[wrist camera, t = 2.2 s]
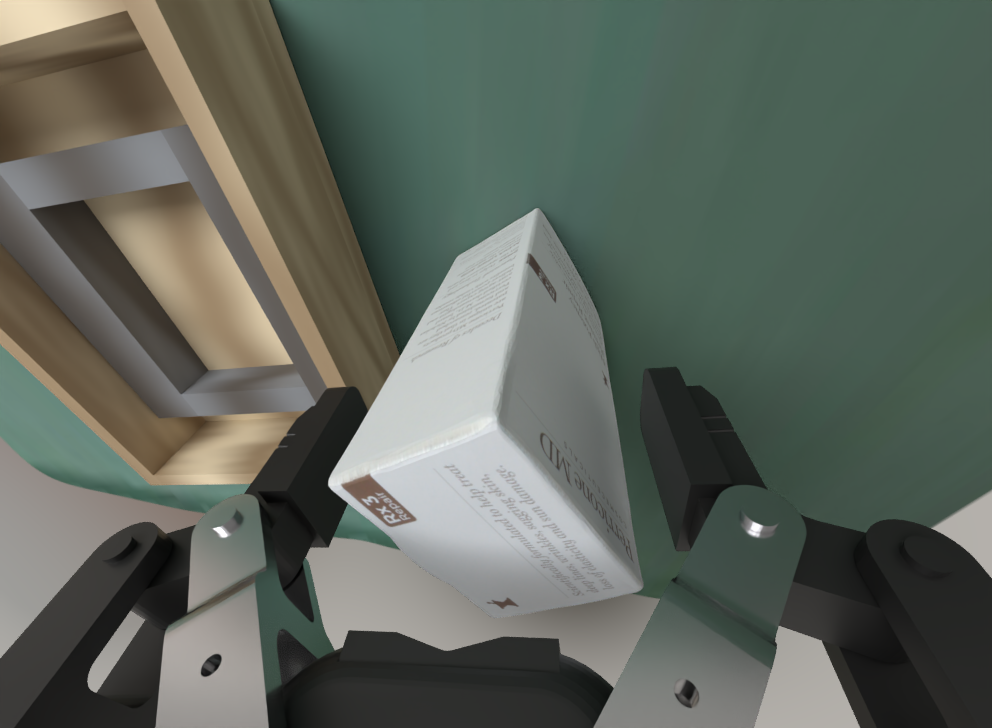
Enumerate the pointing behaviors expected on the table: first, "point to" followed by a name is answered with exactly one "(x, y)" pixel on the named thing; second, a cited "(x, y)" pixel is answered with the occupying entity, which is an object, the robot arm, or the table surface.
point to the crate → (175, 233)
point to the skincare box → (502, 436)
